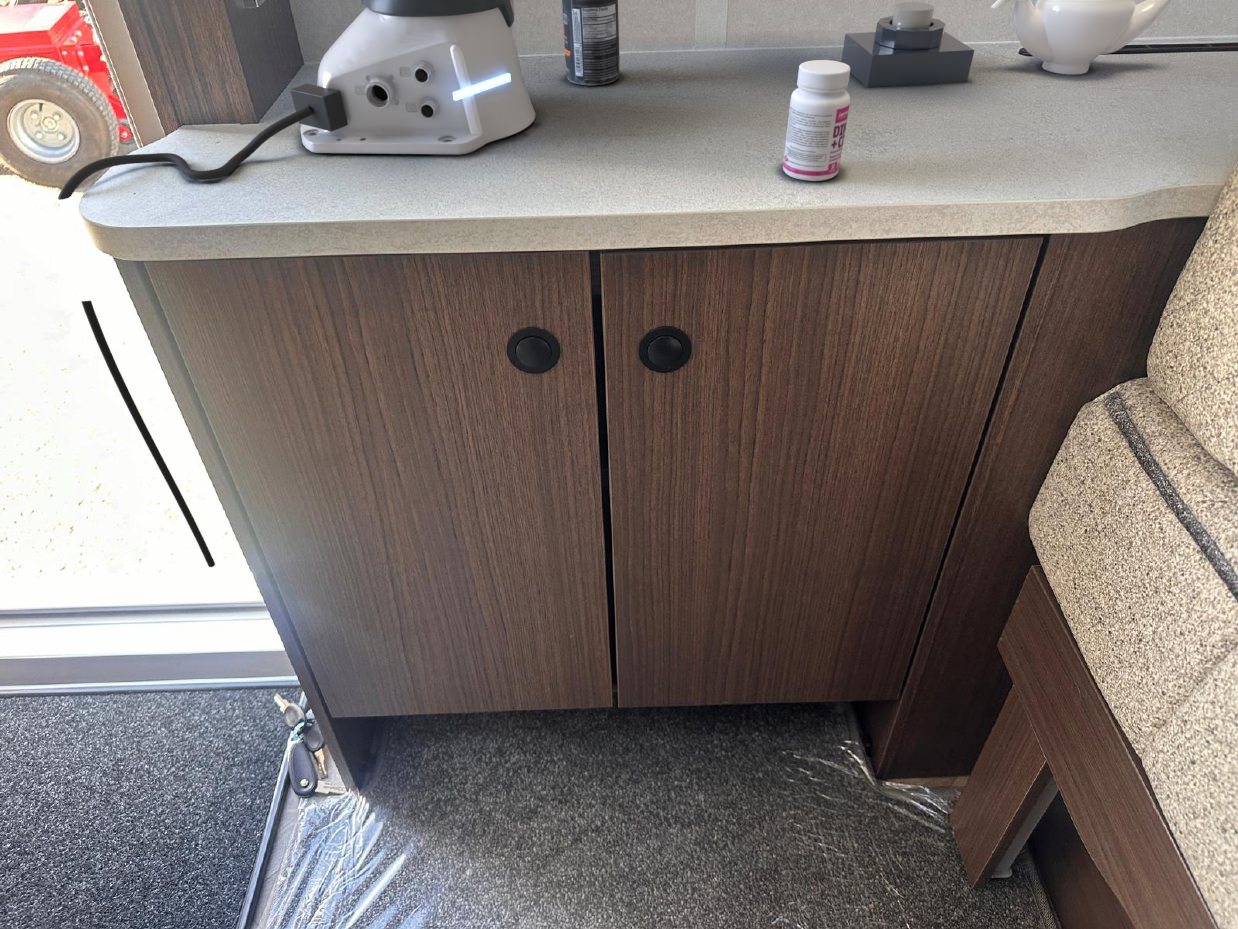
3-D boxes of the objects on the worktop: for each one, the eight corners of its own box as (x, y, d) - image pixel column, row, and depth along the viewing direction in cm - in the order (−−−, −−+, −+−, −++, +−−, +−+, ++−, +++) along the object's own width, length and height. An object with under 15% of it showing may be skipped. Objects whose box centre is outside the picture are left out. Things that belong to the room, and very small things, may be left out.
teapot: (960, 58, 96) (982, -35, 90) (1134, 54, 96) (1167, -39, 90) (990, 83, 89) (1015, -16, 83) (1178, 79, 89) (1217, -20, 83)
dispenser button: (899, 32, 88) (903, 11, 86) (885, 23, 91) (889, 2, 89) (936, 31, 88) (940, 9, 87) (921, 21, 91) (925, 0, 90)
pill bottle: (838, 184, 69) (855, 76, 64) (780, 180, 70) (792, 73, 65) (839, 162, 73) (855, 58, 67) (783, 159, 74) (795, 56, 68)
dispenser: (867, 87, 89) (875, 36, 85) (840, 63, 95) (847, 15, 92) (967, 82, 89) (979, 30, 86) (933, 58, 96) (943, 10, 93)
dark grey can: (574, 69, 96) (568, -45, 88) (624, 71, 95) (623, -44, 87) (560, 85, 91) (552, -34, 84) (613, 87, 90) (610, -33, 83)
